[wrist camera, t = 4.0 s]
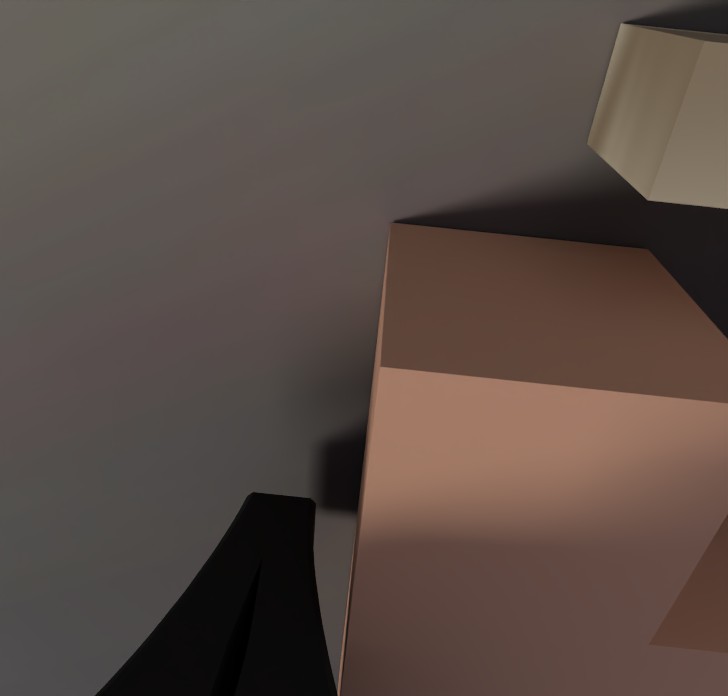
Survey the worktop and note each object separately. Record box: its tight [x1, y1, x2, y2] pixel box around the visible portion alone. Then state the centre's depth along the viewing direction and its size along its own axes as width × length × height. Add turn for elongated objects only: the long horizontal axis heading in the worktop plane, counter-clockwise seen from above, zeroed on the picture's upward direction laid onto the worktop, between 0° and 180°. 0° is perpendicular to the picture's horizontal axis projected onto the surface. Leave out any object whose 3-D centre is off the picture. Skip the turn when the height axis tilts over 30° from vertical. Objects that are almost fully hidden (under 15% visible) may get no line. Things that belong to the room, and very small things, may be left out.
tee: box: [338, 222, 728, 696], centre depth 11 cm, size 12×12×4 cm
